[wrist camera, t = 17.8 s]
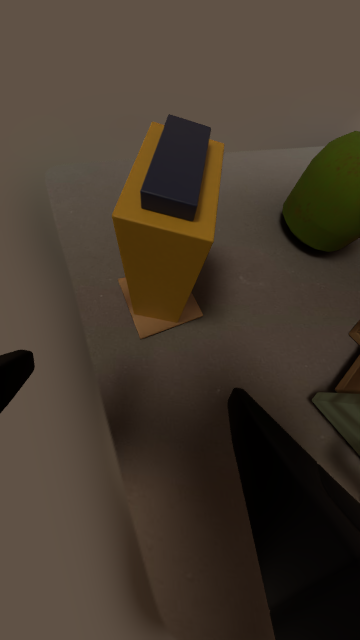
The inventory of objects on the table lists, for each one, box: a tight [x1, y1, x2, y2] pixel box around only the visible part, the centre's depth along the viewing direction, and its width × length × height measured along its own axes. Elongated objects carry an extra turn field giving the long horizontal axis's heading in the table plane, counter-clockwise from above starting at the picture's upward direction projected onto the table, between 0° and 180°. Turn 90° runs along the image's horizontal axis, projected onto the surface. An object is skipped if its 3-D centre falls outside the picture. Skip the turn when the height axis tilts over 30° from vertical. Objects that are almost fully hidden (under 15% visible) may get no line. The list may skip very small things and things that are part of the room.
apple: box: [282, 131, 360, 252], centre depth 22 cm, size 11×11×11 cm
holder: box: [112, 114, 224, 323], centre depth 14 cm, size 8×4×12 cm, turn 171°
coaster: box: [118, 277, 203, 339], centre depth 19 cm, size 7×7×1 cm
